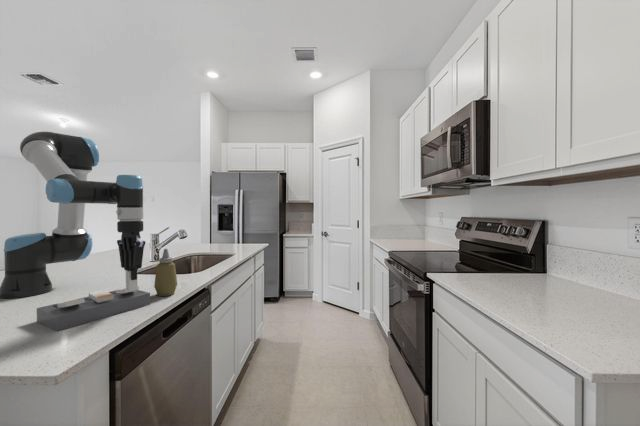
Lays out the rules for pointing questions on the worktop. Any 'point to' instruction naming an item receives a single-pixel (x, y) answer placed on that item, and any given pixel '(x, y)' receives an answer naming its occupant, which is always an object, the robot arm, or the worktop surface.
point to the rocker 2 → (126, 290)
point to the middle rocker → (101, 296)
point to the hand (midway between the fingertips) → (131, 288)
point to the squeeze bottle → (165, 276)
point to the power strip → (90, 309)
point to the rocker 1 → (70, 303)
